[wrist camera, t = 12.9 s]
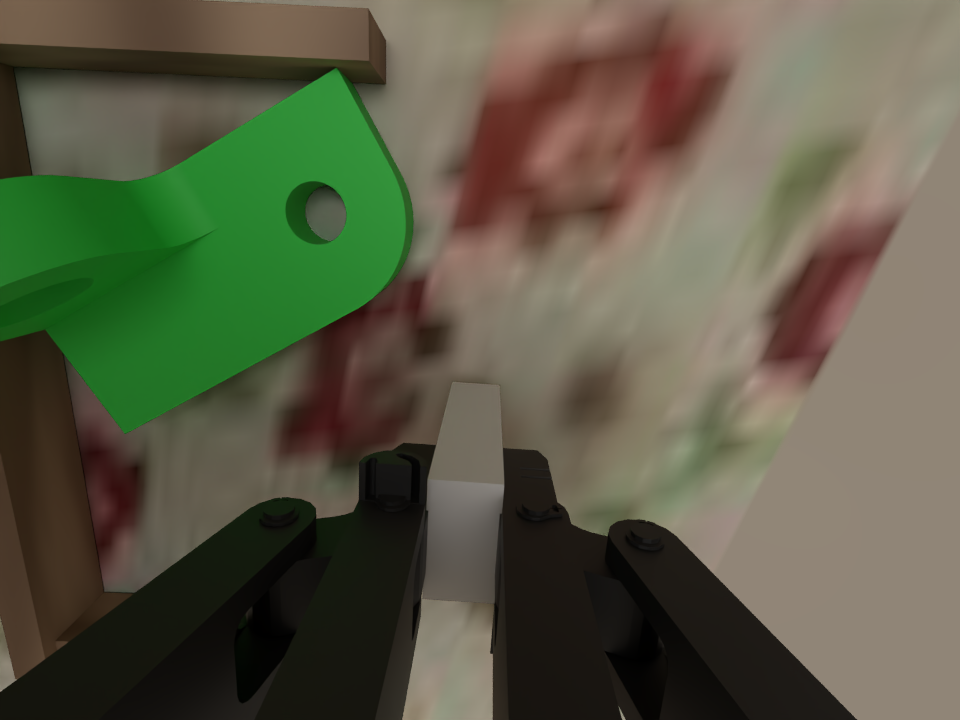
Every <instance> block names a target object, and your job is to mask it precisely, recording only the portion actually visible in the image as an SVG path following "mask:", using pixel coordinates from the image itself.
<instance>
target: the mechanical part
mask: <svg viewBox="0 0 960 720" xmlns="http://www.w3.org/2000/svg"><path fill="white" fill-rule="evenodd" d="M324 185H329V186H331V187H332V188H333V189H335V190H336V191H337V192H338V194H339V195H340V196H341V198H342V200H343V202H344V204H345V208H346V223H345V226H344V229H343V231H342V232H341V234H340V235H339V236H338V237H337V238H336V239H334V240H333V241H327V240H324V239H322V238H320V237H319V236H317V235H316V234H315V233H314V232H313V231H312V230H311V228H310V227H309V225H308V223H307V220H306V216H305V206H306V202H307V199H308V197H309V196H310V194H311V193H312V192H313V191H314V190H316V189H317V188H319V187H321V186H324ZM412 235H413V210H412V203H411V199H410V195H409V192H408V189H407V186H406V183H405V181H404V179H403V177H402V175H401V173H400V171H399V169H398V167H397V166H396V164H395V162H394V160H393V158H392V156H391V154H390V153H389V151H388V149H387V147H386V145H385V143H384V141H383V140H382V138H381V136H380V134H379V132H378V130H377V128H376V126H375V125H374V123H373V121H372V119H371V117H370V115H369V113H368V112H367V110H366V108H365V106H364V104H363V102H362V100H361V98H360V97H359V95H358V93H357V91H356V89H355V87H354V85H353V84H352V82H351V81H350V80H349V79H348V78H347V77H346V76H345V75H344V74H343V73H342V72H341V71H340V70H339V69H338V68H335V69H333V70H332V71H330V72H328V73H327V74H325V75H324V76H322V77H320V78H319V79H317V80H315V81H314V82H312V83H311V84H309V85H307V86H306V87H304V88H302V89H301V90H299V91H297V92H296V93H294V94H293V95H291V96H289V97H288V98H286V99H284V100H283V101H281V102H279V103H278V104H276V105H275V106H273V107H271V108H270V109H268V110H266V111H265V112H263V113H262V114H260V115H258V116H257V117H255V118H253V119H252V120H250V121H248V122H247V123H245V124H244V125H242V126H240V127H239V128H237V129H235V130H234V131H232V132H230V133H229V134H227V135H226V136H224V137H222V138H221V139H219V140H217V141H216V142H214V143H213V144H211V145H209V146H208V147H206V148H204V149H203V150H201V151H199V152H198V153H196V154H195V155H193V156H191V157H190V158H188V159H186V160H185V161H183V162H181V163H180V164H178V165H176V166H175V167H173V168H171V169H169V170H166V171H164V172H162V173H159V174H156V175H153V176H150V177H147V178H143V179H139V180H133V181H113V180H102V179H91V178H80V177H69V176H56V175H37V176H23V177H13V178H6V179H0V341H4V340H7V339H11V338H15V337H19V336H23V335H26V334H30V333H34V332H38V331H42V330H46V331H47V333H48V334H49V335H50V337H51V338H52V339H53V341H54V342H55V343H56V344H57V346H58V347H59V348H60V350H61V351H62V352H63V354H64V355H65V356H66V358H67V359H68V360H69V361H70V363H71V364H72V365H73V367H74V368H75V369H76V371H77V372H78V373H79V375H80V376H81V377H82V378H83V380H84V381H85V382H86V384H87V385H88V386H89V388H90V389H91V390H92V392H93V393H94V394H95V395H96V397H97V398H98V399H99V401H100V402H101V403H102V405H103V406H104V407H105V409H106V410H107V411H108V412H109V414H110V415H111V416H112V418H113V419H114V420H115V422H116V423H117V424H118V426H119V427H120V428H121V429H122V431H123V432H124V433H125V434H126V433H128V432H130V431H132V430H134V429H136V428H137V427H139V426H141V425H143V424H145V423H147V422H149V421H150V420H152V419H154V418H156V417H158V416H160V415H162V414H163V413H165V412H167V411H169V410H171V409H173V408H175V407H176V406H178V405H180V404H182V403H184V402H186V401H187V400H189V399H191V398H193V397H195V396H197V395H199V394H200V393H202V392H204V391H206V390H208V389H210V388H212V387H213V386H215V385H217V384H219V383H221V382H223V381H224V380H226V379H228V378H230V377H232V376H234V375H236V374H237V373H239V372H241V371H243V370H245V369H247V368H249V367H250V366H252V365H254V364H256V363H258V362H260V361H261V360H263V359H265V358H267V357H269V356H271V355H273V354H274V353H276V352H278V351H280V350H282V349H284V348H286V347H287V346H289V345H291V344H293V343H295V342H297V341H299V340H300V339H302V338H304V337H306V336H308V335H310V334H311V333H313V332H315V331H317V330H319V329H321V328H323V327H324V326H326V325H328V324H330V323H332V322H334V321H336V320H337V319H339V318H341V317H343V316H345V315H347V314H348V313H350V312H352V311H354V310H356V309H358V308H359V307H361V306H363V305H364V304H366V303H367V302H368V301H370V300H371V299H372V298H374V297H375V296H376V295H378V294H379V293H380V292H381V291H383V290H384V289H385V288H386V287H387V286H388V285H389V284H390V283H391V282H392V281H393V280H394V278H395V277H396V276H397V274H398V273H399V271H400V270H401V268H402V266H403V264H404V262H405V260H406V258H407V255H408V253H409V249H410V246H411V242H412Z"/></svg>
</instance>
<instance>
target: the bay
mask: <svg viewBox="0 0 960 720" xmlns="http://www.w3.org/2000/svg"><path fill="white" fill-rule="evenodd" d="M13 67H33V68H54V69H76V70H97V71H119V72H140V73H161V74H183V75H204V76H225V77H247V78H268V79H290V80H311V81H315V80H317V79H319V78H320V77H322V76H324V75H325V74H327V73H328V72H330V71H332V70H333V69H335V68H338V69H339V70H340V71H341V72H342V73H343V74H344V75H345V76H346V77H347V78H348V79H349V80H350V81H351V82H354V83H375V84H386V40H385V38H384V36H383V34H382V32H381V31H380V29H379V27H378V25H377V23H376V22H375V20H374V18H373V16H372V14H371V12H370V11H369V9H368V8H348V7H327V6H307V5H286V4H265V3H244V2H223V1H202V0H0V179H6V178H13V177H23V176H32V175H31V169H30V163H29V158H28V152H27V146H26V140H25V134H24V129H23V123H22V117H21V111H20V106H19V100H18V94H17V88H16V83H15V77H14V71H13ZM132 595H133V594H132V593H106V592H104V590H103V584H102V579H101V573H100V567H99V561H98V556H97V550H96V544H95V538H94V532H93V527H92V521H91V515H90V509H89V504H88V498H87V492H86V486H85V481H84V475H83V469H82V463H81V458H80V452H79V446H78V440H77V434H76V429H75V423H74V417H73V411H72V406H71V400H70V394H69V388H68V383H67V377H66V371H65V365H64V359H63V354H62V351H61V350H60V348H59V347H58V346H57V344H56V343H55V342H54V341H53V339H52V338H51V337H50V335H49V334H48V333H47V331H46V330H42V331H38V332H34V333H30V334H26V335H23V336H19V337H15V338H11V339H7V340H4V341H0V616H1V620H2V624H3V629H4V633H5V637H6V641H7V645H8V650H9V654H10V658H11V662H12V666H13V671H14V675H15V679H19V678H20V677H22V676H23V675H24V674H26V673H27V672H28V671H30V670H31V669H32V668H34V667H35V666H36V665H38V664H39V663H41V662H42V661H43V660H45V659H46V658H47V657H49V656H50V655H51V654H53V653H54V652H55V651H57V650H58V649H60V648H61V647H62V646H64V645H65V644H66V643H68V642H69V641H70V640H72V639H73V638H74V637H76V636H77V635H79V634H80V633H81V632H83V631H84V630H85V629H87V628H88V627H89V626H91V625H92V624H93V623H95V622H96V621H98V620H99V619H100V618H102V617H103V616H104V615H106V614H107V613H108V612H110V611H111V610H113V609H114V608H115V607H117V606H118V605H119V604H121V603H122V602H123V601H125V600H126V599H127V598H129V597H130V596H132Z"/></svg>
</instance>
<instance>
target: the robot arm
mask: <svg viewBox="0 0 960 720" xmlns="http://www.w3.org/2000/svg"><path fill="white" fill-rule="evenodd" d="M551 479H552V477H551V473H550V469H549V465H548V460H547V459H546V458H545V457H544V456H543V455H542V454H541V453H540V452H538V451H536V450H522V449H507V448H503V445H502V424H501V403H500V385H493V384H478V383H464V382H452V385H451V389H450V393H449V397H448V401H447V405H446V409H445V413H444V416H443V420H442V424H441V428H440V432H439V436H438V440H437V444H436V445H427V444H412V443H403V444H401V445H400V446H398V447H397V448H395V449H394V450H392V451H382V452H376V453H373V454H370V455H368V456H366V457H364V458H363V459H362V460H361V461H360V462H359V501H358V503H357V506H356V508H355V510H354V512H352V513H349V514H346V515H341V516H336V517H328V518H319V519H316V508H315V507H314V506H313V505H312V504H311V503H310V502H307V501H304V500H302V499H296V498H289V497H282V498H275V499H271V500H269V501H265V502H262V503H259V504H257V505H255V506H254V507H252V508H250V509H248V510H247V511H246V512H244V513H243V514H242V515H240V516H239V517H237V518H236V519H235V520H233V521H232V522H231V523H229V524H228V525H227V526H225V527H224V528H223V529H221V530H220V531H218V532H217V533H216V534H214V535H213V536H212V537H210V538H209V539H208V540H206V541H205V542H203V543H202V544H201V545H199V546H198V547H197V548H195V549H194V550H193V551H191V552H190V553H189V554H187V555H186V556H184V557H183V558H182V559H180V560H179V561H178V562H176V563H175V564H174V565H172V566H171V567H170V568H168V569H167V570H165V571H164V572H163V573H161V574H160V575H159V576H157V577H156V578H155V579H153V580H152V581H151V582H149V583H148V584H146V585H145V586H144V587H142V588H141V589H140V590H138V591H137V592H136V593H134V594H133V595H132V596H130V597H129V598H127V599H126V600H125V601H123V602H122V603H121V604H119V605H118V606H117V607H115V608H114V609H113V610H111V611H110V612H108V613H107V614H106V615H104V616H103V617H102V618H100V619H99V620H98V621H96V622H95V623H93V624H92V625H91V626H89V627H88V628H87V629H85V630H84V631H83V632H81V633H80V634H79V635H77V636H76V637H74V638H73V639H72V640H70V641H69V642H68V643H66V644H65V645H64V646H62V647H61V648H60V649H58V650H57V651H55V652H54V653H53V654H51V655H50V656H49V657H47V658H46V659H45V660H43V661H42V662H41V663H39V664H38V665H36V666H35V667H34V668H32V669H31V670H30V671H28V672H27V673H26V674H24V675H23V676H22V677H20V678H19V679H17V680H16V681H15V682H13V683H12V684H11V685H9V686H8V687H7V688H5V689H4V690H2V691H1V692H0V720H402V717H403V712H404V706H405V701H406V695H407V689H408V684H409V678H410V673H411V667H412V661H413V656H414V650H415V645H416V639H417V633H418V628H419V622H420V617H421V595H422V589H423V599H432V600H447V601H461V602H475V603H490V604H494V615H493V627H492V639H491V651H490V654H493V720H622V718H621V714H620V710H619V707H620V709H621V711H622V713H623V715H624V717H625V719H626V720H857V719H855V717H854V716H853V715H852V714H851V713H850V712H849V711H848V710H847V709H846V708H845V707H844V706H843V705H842V704H841V703H840V702H839V701H838V700H837V699H836V698H835V697H834V696H833V695H832V694H831V693H830V692H829V691H828V690H827V689H826V688H825V687H824V686H823V685H822V684H821V683H820V682H819V681H818V680H817V679H816V678H815V677H814V676H813V675H812V674H811V673H810V672H809V671H808V670H807V669H806V668H805V666H803V665H802V663H801V662H800V661H799V660H798V659H797V658H796V657H795V656H794V655H793V654H792V653H791V652H790V651H789V650H788V649H787V648H786V647H785V646H784V645H783V644H782V643H781V642H780V641H779V640H778V639H777V638H776V637H775V636H774V635H773V634H772V633H771V632H770V631H769V630H768V629H767V628H766V627H765V626H764V625H763V624H762V623H761V622H760V621H759V620H758V619H757V618H756V617H755V616H754V615H753V614H752V613H751V612H750V611H749V610H748V609H747V608H746V607H745V606H744V604H742V602H741V601H739V599H738V598H737V597H736V596H734V594H733V593H732V592H730V590H729V589H728V588H727V587H726V586H725V585H724V584H723V583H722V582H721V581H720V580H719V579H718V578H717V577H716V576H715V575H714V574H713V573H712V572H711V571H710V570H709V569H708V568H707V567H706V566H705V565H704V564H703V563H702V562H701V561H700V560H699V559H698V558H697V557H696V556H695V555H694V554H693V553H692V552H691V551H690V550H689V549H688V548H687V547H686V546H685V545H684V544H683V543H682V542H681V540H680V539H679V538H678V537H677V536H675V535H674V534H673V533H671V532H670V531H669V530H667V529H666V528H663V527H661V526H659V525H657V524H655V523H653V522H649V521H647V522H646V520H629V519H627V520H623V521H618V522H616V523H614V524H613V525H612V526H610V529H609V533H608V537H607V536H603V535H599V534H595V533H592V532H589V531H585V530H582V529H580V528H578V527H576V526H574V525H572V524H571V522H570V518H569V514H568V512H567V511H566V509H565V508H564V507H563V506H562V505H560V504H559V503H557V499H556V494H555V490H554V486H553V482H552V480H551ZM618 706H619V707H618Z"/></svg>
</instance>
